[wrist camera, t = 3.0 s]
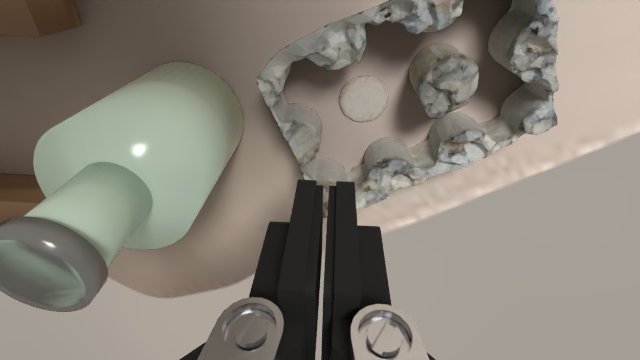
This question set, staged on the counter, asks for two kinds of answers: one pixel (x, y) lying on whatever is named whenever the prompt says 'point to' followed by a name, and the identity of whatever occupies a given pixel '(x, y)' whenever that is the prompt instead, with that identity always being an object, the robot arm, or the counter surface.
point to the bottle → (119, 183)
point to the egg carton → (420, 94)
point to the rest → (35, 20)
